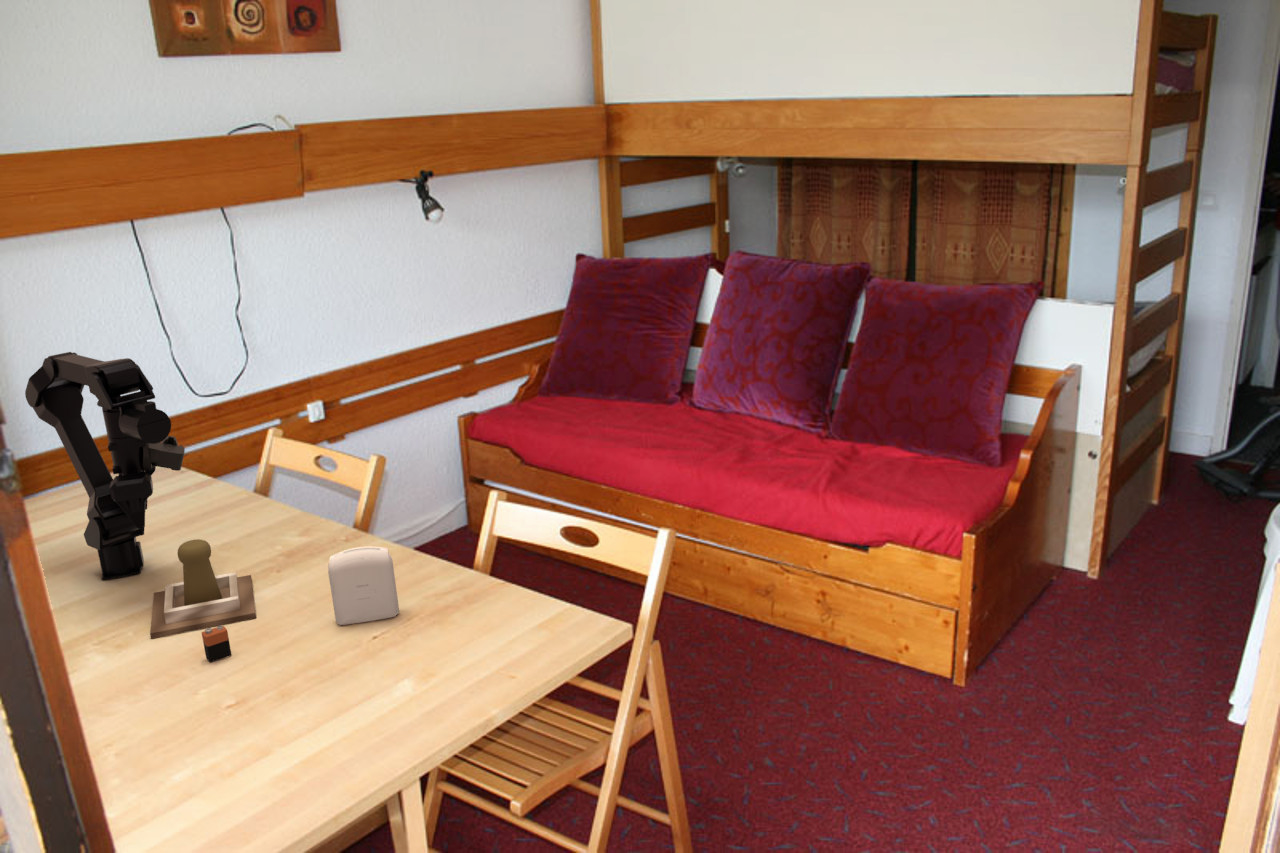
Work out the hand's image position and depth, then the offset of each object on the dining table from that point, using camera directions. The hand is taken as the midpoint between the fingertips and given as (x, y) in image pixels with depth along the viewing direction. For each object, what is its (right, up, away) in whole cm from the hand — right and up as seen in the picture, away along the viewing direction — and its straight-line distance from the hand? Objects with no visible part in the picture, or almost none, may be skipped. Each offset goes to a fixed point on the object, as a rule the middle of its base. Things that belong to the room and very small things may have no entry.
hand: (142, 518), depth 184 cm
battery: (+22, -20, -21) cm, 36 cm away
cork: (+13, -14, -5) cm, 19 cm away
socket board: (+13, -15, -5) cm, 20 cm away
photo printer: (+42, -16, -10) cm, 46 cm away
